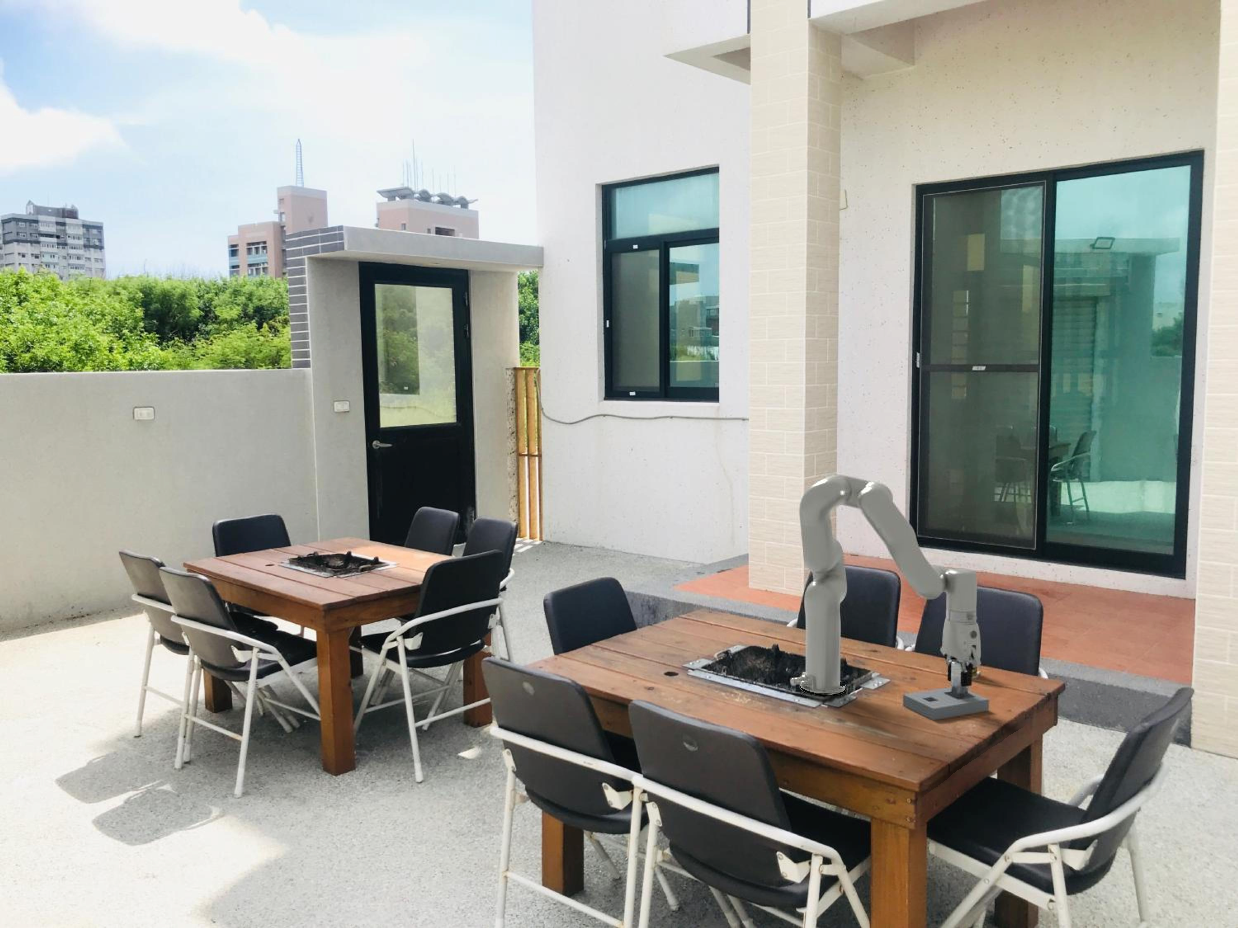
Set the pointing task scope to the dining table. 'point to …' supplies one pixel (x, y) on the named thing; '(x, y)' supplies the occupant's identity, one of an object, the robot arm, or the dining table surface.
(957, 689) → the cylinder
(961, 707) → the grey hole board
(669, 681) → the dining table surface
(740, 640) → the dining table surface
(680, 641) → the dining table surface
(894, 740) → the dining table surface
